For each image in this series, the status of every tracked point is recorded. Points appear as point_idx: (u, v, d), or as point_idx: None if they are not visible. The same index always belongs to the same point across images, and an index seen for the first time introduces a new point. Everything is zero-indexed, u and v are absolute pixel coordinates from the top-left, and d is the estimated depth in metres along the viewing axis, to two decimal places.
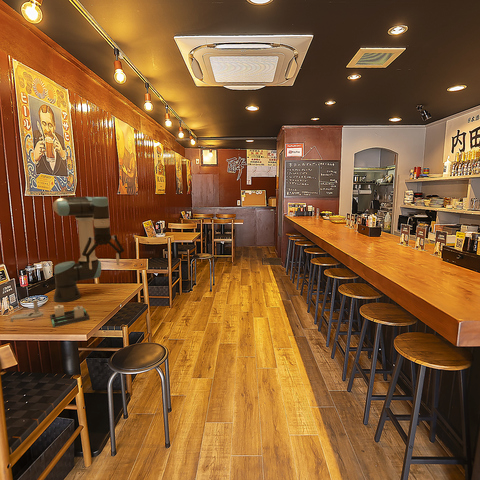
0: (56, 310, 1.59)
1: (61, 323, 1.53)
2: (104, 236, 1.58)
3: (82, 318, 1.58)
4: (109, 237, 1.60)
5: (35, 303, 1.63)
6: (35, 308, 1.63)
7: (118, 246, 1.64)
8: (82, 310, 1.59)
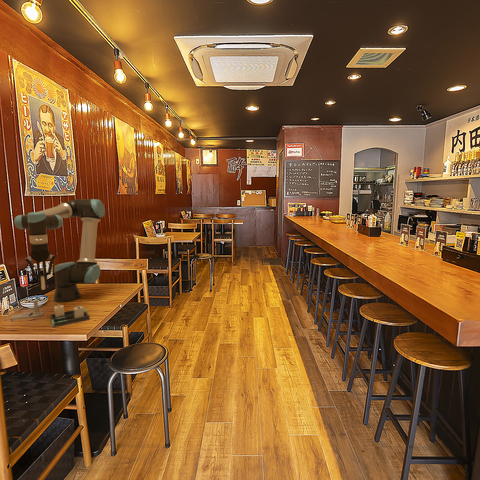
0: (56, 310, 1.59)
1: (61, 323, 1.53)
2: (41, 253, 1.53)
3: (82, 318, 1.58)
4: (47, 254, 1.54)
5: (35, 303, 1.63)
6: (35, 308, 1.63)
7: None
8: (82, 310, 1.59)
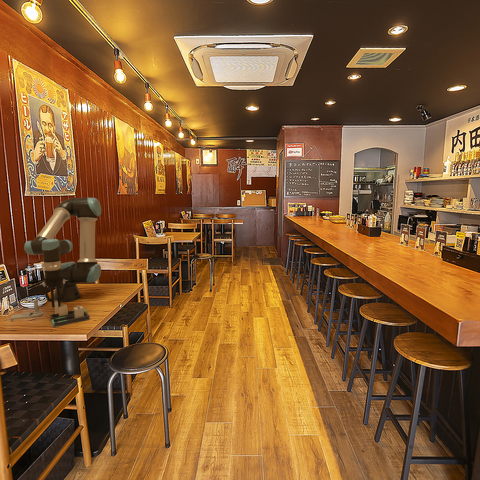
0: (59, 309, 1.60)
1: (61, 323, 1.53)
2: (55, 278, 1.58)
3: (82, 318, 1.58)
4: (61, 279, 1.59)
5: (36, 302, 1.63)
6: (36, 307, 1.63)
7: (61, 291, 1.62)
8: (82, 310, 1.59)
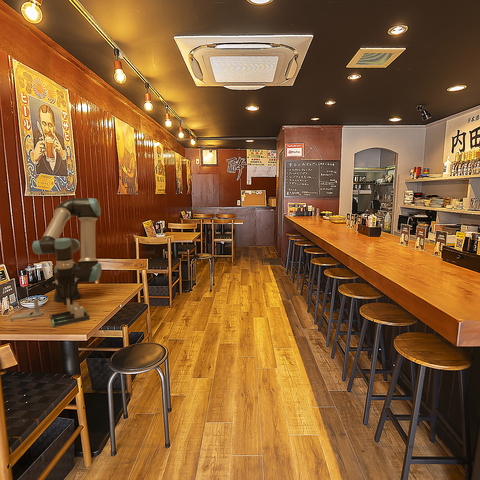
0: (71, 307, 1.63)
1: (61, 323, 1.53)
2: (67, 277, 1.61)
3: (82, 318, 1.58)
4: (73, 277, 1.62)
5: (36, 302, 1.64)
6: (36, 307, 1.64)
7: (73, 289, 1.65)
8: (82, 310, 1.59)
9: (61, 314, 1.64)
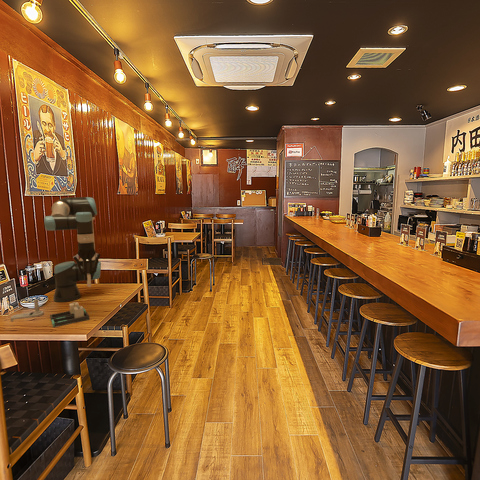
0: (71, 307, 1.63)
1: (61, 323, 1.53)
2: (88, 251, 1.58)
3: (82, 318, 1.58)
4: (93, 252, 1.60)
5: (36, 302, 1.64)
6: (36, 307, 1.64)
7: (94, 265, 1.62)
8: (82, 310, 1.59)
9: (61, 314, 1.64)
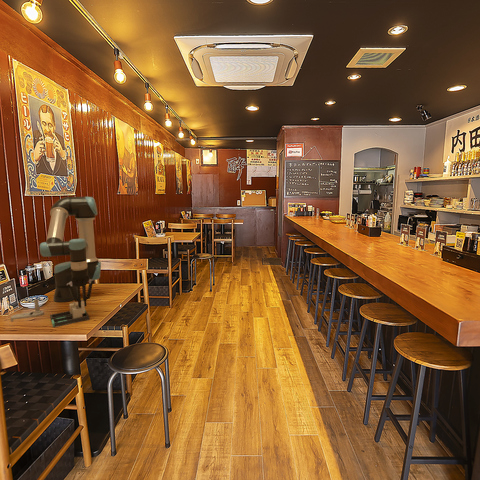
0: (71, 307, 1.63)
1: (61, 323, 1.53)
2: (82, 278, 1.58)
3: (82, 318, 1.58)
4: (87, 279, 1.59)
5: (36, 302, 1.64)
6: (36, 307, 1.64)
7: None
8: (80, 310, 1.58)
9: (61, 314, 1.64)
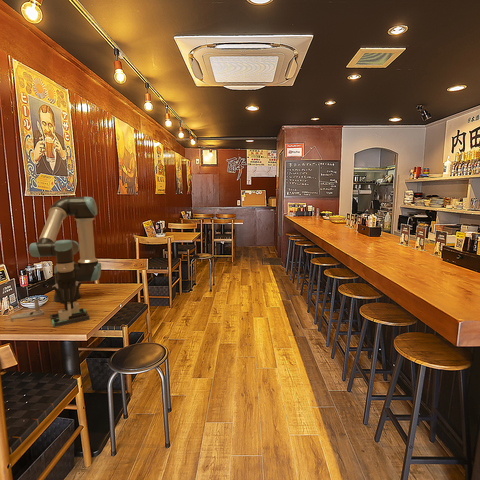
0: None
1: (61, 323, 1.53)
2: (68, 280, 1.54)
3: (82, 318, 1.58)
4: (74, 281, 1.56)
5: (36, 302, 1.64)
6: (36, 307, 1.65)
7: (74, 293, 1.58)
8: (67, 313, 1.55)
9: None
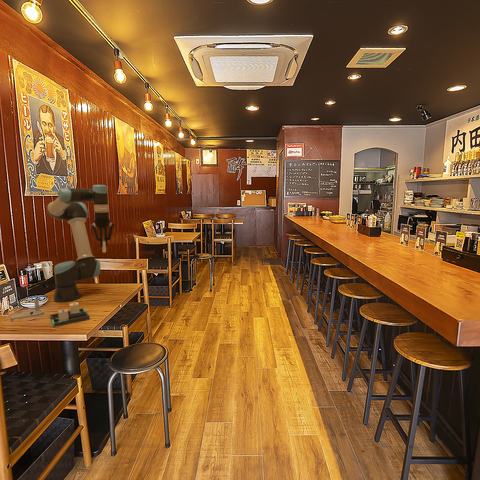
0: (71, 307, 1.63)
1: (61, 323, 1.53)
2: (103, 220, 1.77)
3: (82, 318, 1.58)
4: (108, 221, 1.78)
5: (36, 301, 1.65)
6: (37, 306, 1.65)
7: (108, 233, 1.81)
8: (67, 313, 1.55)
9: None
